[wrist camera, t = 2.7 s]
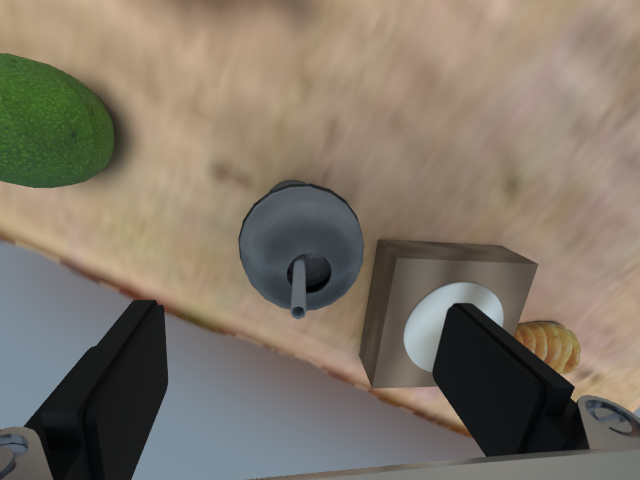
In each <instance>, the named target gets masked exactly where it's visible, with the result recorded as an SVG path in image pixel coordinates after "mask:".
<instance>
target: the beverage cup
mask: <svg viewBox="0 0 640 480" xmlns="http://www.w3.org/2000/svg"><path fill="white" fill-rule="evenodd" d="M238 240H239V251H240V259H241V261H242V265H243V268H244V270H245V272H246V274H247V276H248V279H249V281H250V283H251V284H252V286H253V287H254V288H255V289H256V290H257V291H258V292H259V293H260V294H261V295H262V296H263V297H264V298H265V299H266V300H268V301H270V302H272V303H274V304H275V305H277V306H279V307H281V308H286V309H291V314H292V316H293V317H294V318H297V319H300V318H303V317H304V316H305V314H306V311H308V310H317V309H319V308H322V307H325V306H328V305H330V304H332V303H333V302H335V301H336V300H338V299H339V298H340V297H342V296H343V295H344V294H345V293H346V292H347V291H348V290H349V288H350V287H351V286H352V284H353V283H354V282H355V281H356V279H357V276H358V273H359V271H360V268H361V266H362V262H363V248H364V242H363V237H362V232H361V229H360V225H359V222H358V218H357V216H356V214H355V213H354V211H353V210H352V209H351V207H350V206H349V204H348V203H347V202H346V201H345V200H344V199H343V198H341V197H340V196H338V195H337V194H336V193H334V192H333V191H331V190H330V189H327V188H323V187H320V186H317V185H313V184H306V183H304V182H300V181H297V180H286V181H283V182H280V183H278V184H277V185H276V186H274V187H273V188H272V189H271V190H270V192H269V193H268V194H266V195H265V196H264V197H262V198H261V199H260V200H259V201H257V202H256V203H255V204H254V205H253V207H252V208H251V210H250V211H249V213H248V214H247V216H246V217H245V219H244V220H243V223H242V227H241V231H240V235H239V239H238Z"/></svg>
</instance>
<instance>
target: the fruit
mask: <svg viewBox="0 0 640 480" xmlns="http://www.w3.org/2000/svg"><path fill="white" fill-rule="evenodd" d="M113 150H114V129H113V124H112V119H111V117H110V115H109V113H108V112H107V110H106V108H105V107H104V105H103V103H102V102H101V101H100V100H99V99H98V98H97V97H96V96H95V95H94V94H93V92H92V91H91V90H90V89H88V88H87V87H86V86H85V85H83V84H82V83H81V82H80V81H78V80H77V79H75V78H74V77H72V76H70V75H69V74H67V73H65V72H63V71H61V70H59V69H57V68H55V67H53V66H51V65H48V64H45V63H41V62H37V61H34V60H30V59H26V58H23V57H19V56H15V55H11V54H8V53H4V54H0V181H3V182H7V183H12V184H17V185H22V186H27V187H32V188H54V187H61V186H67V185H72V184H76V183H80V182H84V181H87V180H88V179H90V178H91V177H92V176H94V175H95V174H97V173H98V172H100V171H101V170H102V169H104V168H105V167H106V166H107V164H108V163H109V161H110V159H111V157H112V154H113Z"/></svg>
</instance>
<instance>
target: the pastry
mask: <svg viewBox="0 0 640 480" xmlns="http://www.w3.org/2000/svg"><path fill="white" fill-rule="evenodd" d="M514 338H515V339H517V340H518V341H519V342H520V343H522V344H523V345H524V346H525V347H527V348H528V349H529V350H530V351H531V352H533V353H534V354H535V355H536V356H538V357H539V358H540V359H541V360H543V361H544V362H545V363H546V364H547V365H549V366H550V367H551V368H552V369H554V370H555V371H556V372H557V373H558V374H565V375H566V374H568V373H571V372H572V371H573V370H575V368H576V367H577V365H578V364H579V362H580V352H581V348H580V344H579V342H578V340H577V337H576V336H575V334H574V333H573V332H572V331H570V330H568V329H566V328H565V327H563V326H562V325H559V324H556V323H550V322H530V323H521V324H518V325H517V328H516V331H515V334H514Z"/></svg>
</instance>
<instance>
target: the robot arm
mask: <svg viewBox="0 0 640 480" xmlns="http://www.w3.org/2000/svg"><path fill="white" fill-rule="evenodd" d="M165 335H166V334H165V317H164V307H163V305H158V304H157V301H156V300H134V301H133V302H132V303H131V304H130V305H129V306H128V308H127V309H126V310H125V311H124V312H123V314H122V315H121V316H120V317H119V319H118V320H117V321H116V322H115V323H114V325H113V326H112V327H111V328H110V330H109V331H108V332H107V333H106V335H105V336H104V337H103V338H102V339H101V341H100V342H99V343H98V344H97V345H96V346H94V347H91V348H90V349H89V350H88V351H87V352H86V353H85V354H84V355H83V356H82V358H81V359H80V360H79V361H78V362H77V364H76V365H75V366H74V367H73V368H72V370H71V371H70V372H69V373H68V374H67V375H66V377H65V378H64V379H63V380H62V381H61V382H60V384H59V385H58V386H57V387H56V389H55V390H54V391H53V392H52V393H51V394H50V396H49V397H48V398H47V399H46V400H45V402H44V403H43V404H42V405H41V406H40V408H39V409H38V410H37V411H36V412H35V414H34V415H33V416H32V417H31V418H30V420H29V421H28V422H27V423H26V424H25V425H24V426H23V427H9V428H4V429H0V480H131V479H132V476H133V474H134V471H135V469H136V466H137V464H138V461H139V459H140V456H141V453H142V451H143V449H144V446H145V443H146V441H147V438H148V436H149V433H150V431H151V428H152V425H153V423H154V421H155V418H156V415H157V413H158V411H159V408H160V406H161V403H162V400H163V398H164V395H165V393H166V390H167V385H168V369H167V352H166V336H165ZM432 375H433V379H434V381H435V382H436V384H437V385H438V387H439V388H440V390H441V391H442V393H443V394H444V396H445V397H446V398H447V400H448V401H449V403H450V404H451V406H452V407H453V409H454V410H455V412H456V413H457V415H458V416H459V418H460V419H461V420H462V422H463V423H464V425H465V426H466V428H467V429H468V431H469V432H470V434H471V435H472V437H473V438H474V439H475V441H476V442H477V444H478V445H479V447H480V448H481V450H482V451H483V453H484V454H485V455H486V457H480V458H469V459H458V460H446V461H436V462H424V463H413V464H402V465H391V466H380V467H370V468H360V469H348V470H337V471H328V472H318V473H307V474H296V475H286V476H277V477H266V478H256V479H246V480H640V418H639V417H637V416H636V415H634V414H633V413H632V412H630V411H629V410H627V409H625V408H624V407H622V406H620V405H618V404H616V403H614V402H611V401H609V400H607V399H604V398H600V397H597V396H591V395H585V396H581V397H580V398H579V399H578V400H577V403H576V402H574V401H573V400H572V399H571V398H570V397H571V395H572V393H573V390H574V388H575V387H574V386H573V385H572V384H571V383H570V382H568V381H567V380H566V379H565V378H563V377H562V376H561V375H560V374H558V373H557V372H556V371H555V370H554V369H552V368H551V367H550V366H549V365H547V364H546V363H545V362H544V361H543V360H541V359H540V358H539V357H538V356H536V355H535V354H534V353H533V352H531V351H530V350H529V349H528V348H527V347H525V346H524V345H523V344H522V343H520V342H519V341H518V340H517V339H515V338H514V337H513V336H512V335H511V334H509V333H508V332H507V331H506V330H504V329H503V328H502V327H501V326H500V325H498V324H497V323H496V322H495V321H493V320H492V319H491V318H490V317H488V316H487V315H486V314H485V313H484V312H482V311H481V310H480V309H479V308H477V307H476V306H475V305H474V304H472V303H454V304H453V305H452V306H451V307H449V308H448V310H447V313H446V317H445V321H444V325H443V329H442V333H441V337H440V341H439V345H438V349H437V353H436V357H435V361H434V365H433V370H432Z"/></svg>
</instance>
